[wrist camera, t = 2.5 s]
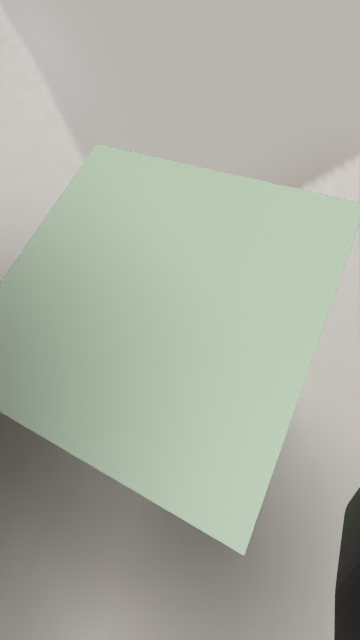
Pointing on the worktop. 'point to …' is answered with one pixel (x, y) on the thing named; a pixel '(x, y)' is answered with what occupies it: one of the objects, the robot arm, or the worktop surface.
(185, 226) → the sage block
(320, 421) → the worktop surface
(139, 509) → the worktop surface
